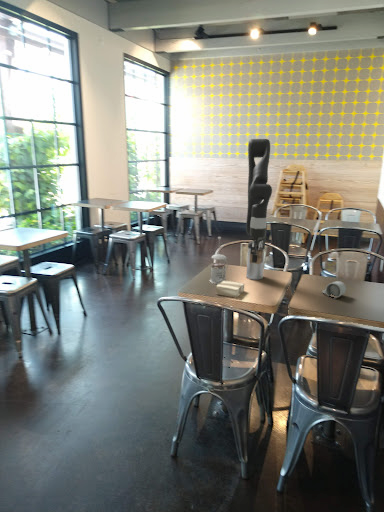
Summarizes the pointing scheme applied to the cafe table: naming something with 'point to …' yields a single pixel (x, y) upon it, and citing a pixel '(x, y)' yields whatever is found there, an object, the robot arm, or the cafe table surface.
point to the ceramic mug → (335, 289)
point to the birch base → (230, 288)
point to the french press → (216, 273)
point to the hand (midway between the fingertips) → (256, 260)
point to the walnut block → (259, 257)
